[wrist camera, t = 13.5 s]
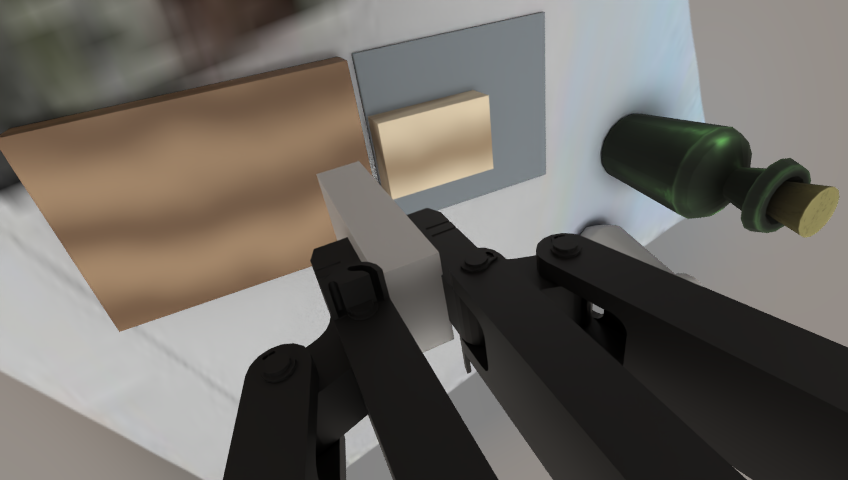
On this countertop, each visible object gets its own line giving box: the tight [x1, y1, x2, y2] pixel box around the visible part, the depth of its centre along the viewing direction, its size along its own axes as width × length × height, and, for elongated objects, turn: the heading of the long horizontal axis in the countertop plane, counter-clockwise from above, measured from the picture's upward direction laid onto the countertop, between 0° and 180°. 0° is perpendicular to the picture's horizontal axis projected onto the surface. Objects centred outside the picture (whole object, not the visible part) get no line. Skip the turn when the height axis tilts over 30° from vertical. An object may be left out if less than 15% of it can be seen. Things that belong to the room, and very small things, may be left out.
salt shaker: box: [580, 225, 703, 287], centre depth 45 cm, size 6×6×13 cm
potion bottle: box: [602, 114, 839, 237], centre depth 39 cm, size 8×8×18 cm
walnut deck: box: [0, 57, 372, 332], centre depth 32 cm, size 14×20×2 cm
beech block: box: [368, 90, 493, 199], centre depth 36 cm, size 6×9×2 cm, turn 99°
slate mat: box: [352, 12, 546, 215], centre depth 38 cm, size 14×16×1 cm
